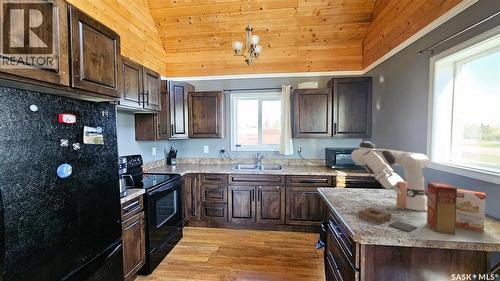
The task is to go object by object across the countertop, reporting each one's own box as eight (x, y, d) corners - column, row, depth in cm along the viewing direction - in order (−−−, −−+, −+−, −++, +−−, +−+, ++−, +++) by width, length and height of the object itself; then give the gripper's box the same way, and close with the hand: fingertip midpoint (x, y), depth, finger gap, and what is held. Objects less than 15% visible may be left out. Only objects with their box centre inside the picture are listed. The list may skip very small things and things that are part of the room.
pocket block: (369, 213, 147) (370, 207, 147) (390, 220, 136) (391, 213, 136) (358, 217, 140) (358, 211, 140) (379, 224, 129) (379, 218, 129)
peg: (398, 204, 129) (399, 180, 129) (407, 206, 126) (408, 182, 125) (394, 205, 127) (396, 181, 126) (403, 208, 123) (404, 183, 123)
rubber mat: (397, 222, 133) (397, 220, 133) (416, 228, 125) (416, 226, 125) (388, 225, 128) (389, 224, 128) (408, 232, 119) (408, 230, 119)
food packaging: (425, 222, 132) (427, 181, 131) (445, 225, 129) (446, 183, 128) (434, 232, 120) (436, 186, 119) (456, 235, 117) (458, 188, 116)
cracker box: (449, 224, 130) (451, 189, 129) (450, 221, 134) (451, 187, 133) (484, 232, 120) (486, 194, 119) (483, 229, 124) (485, 192, 123)
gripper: (387, 174, 141) (404, 192, 134) (373, 178, 128) (391, 198, 121) (395, 168, 137) (413, 187, 130) (382, 171, 125) (401, 192, 117)
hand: (403, 192), depth 125 cm, fingers closed on peg, 4 cm apart
